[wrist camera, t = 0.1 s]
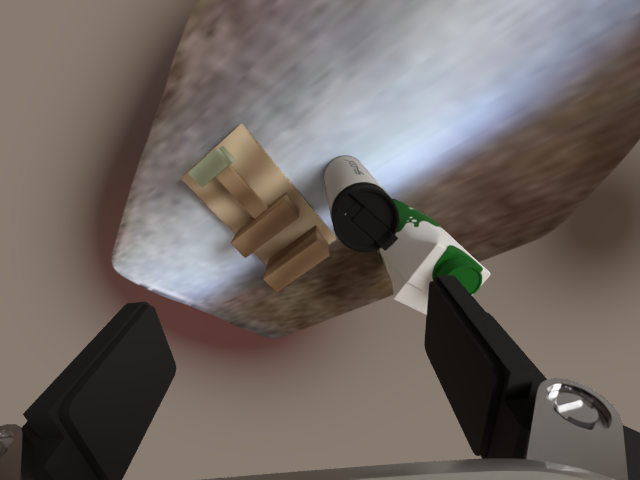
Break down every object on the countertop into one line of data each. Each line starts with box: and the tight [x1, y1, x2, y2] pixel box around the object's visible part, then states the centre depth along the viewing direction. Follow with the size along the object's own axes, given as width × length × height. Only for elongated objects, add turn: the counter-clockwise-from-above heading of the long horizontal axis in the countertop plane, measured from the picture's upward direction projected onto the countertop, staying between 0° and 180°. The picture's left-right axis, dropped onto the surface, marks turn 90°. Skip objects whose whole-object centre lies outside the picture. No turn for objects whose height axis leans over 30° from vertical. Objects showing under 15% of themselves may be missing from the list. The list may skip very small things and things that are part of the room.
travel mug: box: [324, 155, 400, 252], centre depth 36 cm, size 6×7×20 cm
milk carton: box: [377, 199, 490, 315], centre depth 40 cm, size 9×9×20 cm
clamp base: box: [181, 124, 336, 292], centre depth 44 cm, size 22×12×7 cm, turn 38°
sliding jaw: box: [189, 146, 300, 258], centre depth 42 cm, size 13×10×5 cm
